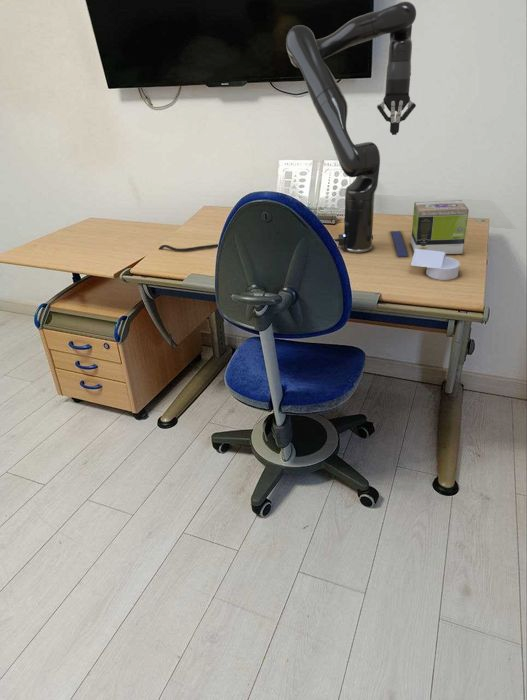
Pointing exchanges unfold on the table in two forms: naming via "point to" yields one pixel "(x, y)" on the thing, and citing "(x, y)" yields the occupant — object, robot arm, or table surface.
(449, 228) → the tea box
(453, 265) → the wedge on round base
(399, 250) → the ruler
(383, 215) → the table surface
